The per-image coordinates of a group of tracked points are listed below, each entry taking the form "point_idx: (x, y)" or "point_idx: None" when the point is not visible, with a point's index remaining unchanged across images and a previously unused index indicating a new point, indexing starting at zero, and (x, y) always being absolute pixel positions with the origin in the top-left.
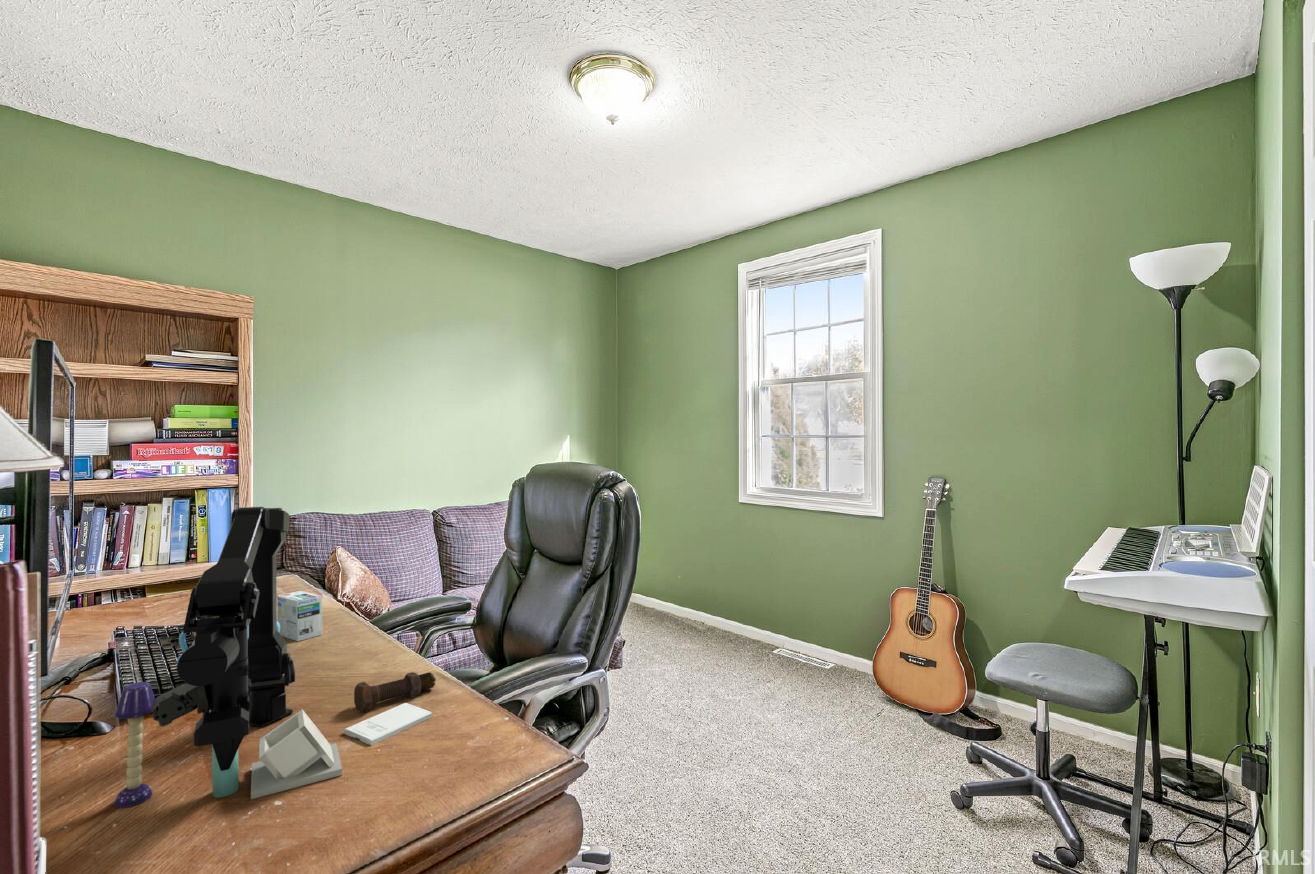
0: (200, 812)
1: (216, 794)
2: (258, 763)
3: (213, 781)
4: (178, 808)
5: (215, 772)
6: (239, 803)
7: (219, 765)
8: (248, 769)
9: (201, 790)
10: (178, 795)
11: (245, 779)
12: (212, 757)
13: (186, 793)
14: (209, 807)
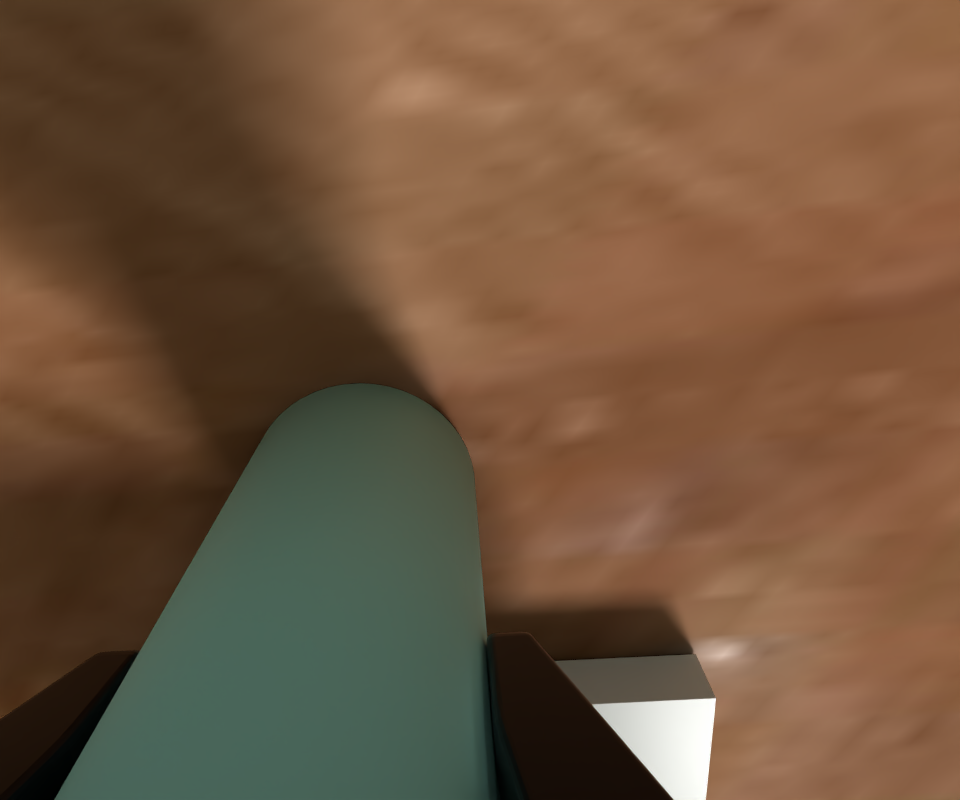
0: (11, 311)
1: (268, 432)
2: (670, 743)
3: (273, 462)
4: (201, 79)
5: (202, 554)
6: (54, 608)
7: (12, 715)
8: (718, 625)
9: (518, 267)
10: (537, 35)
11: (519, 618)
12: (195, 662)
13: (537, 120)
14: (85, 380)
